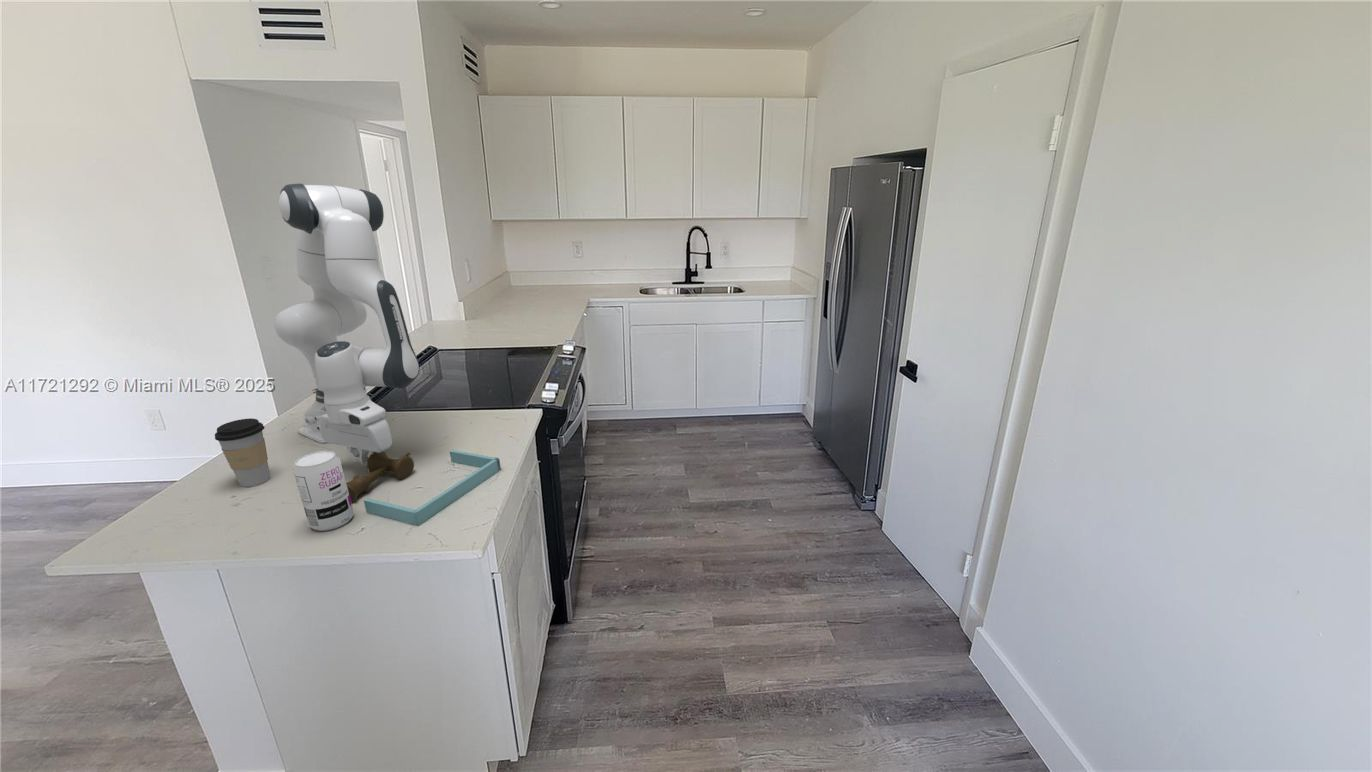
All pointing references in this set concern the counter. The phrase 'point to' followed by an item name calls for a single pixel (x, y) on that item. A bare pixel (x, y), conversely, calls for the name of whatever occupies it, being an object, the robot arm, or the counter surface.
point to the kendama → (379, 471)
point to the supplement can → (323, 490)
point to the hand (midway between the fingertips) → (361, 461)
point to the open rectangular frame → (444, 499)
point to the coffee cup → (245, 450)
